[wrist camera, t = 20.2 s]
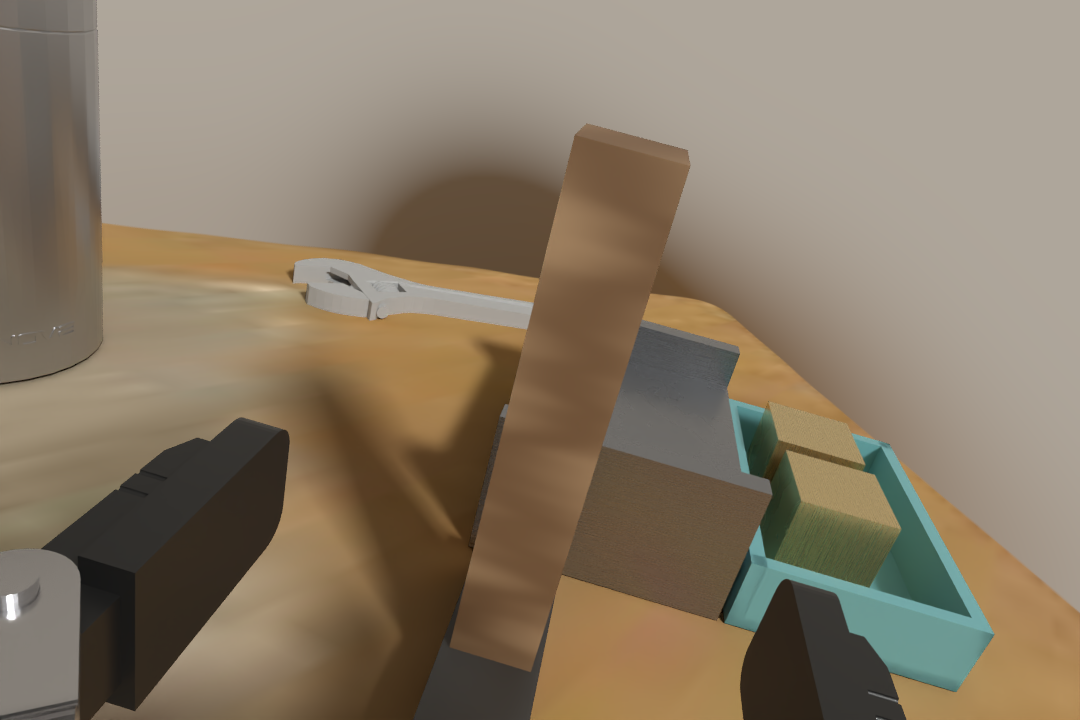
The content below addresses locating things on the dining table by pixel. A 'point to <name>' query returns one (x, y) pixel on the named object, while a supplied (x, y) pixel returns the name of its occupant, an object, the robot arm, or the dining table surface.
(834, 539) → the brass block
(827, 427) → the brass block
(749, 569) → the tray
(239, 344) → the dining table surface
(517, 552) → the wooden post on base
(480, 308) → the adjustable wrench
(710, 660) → the dining table surface
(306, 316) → the dining table surface
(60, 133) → the robot arm
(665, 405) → the rail channel
